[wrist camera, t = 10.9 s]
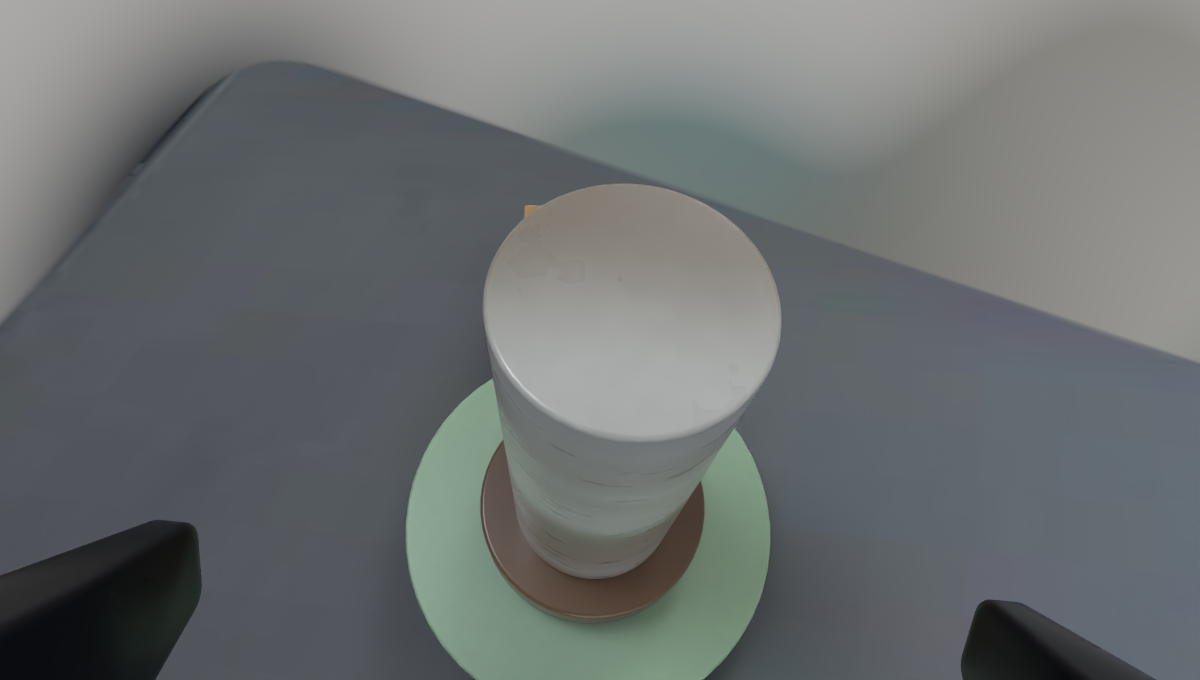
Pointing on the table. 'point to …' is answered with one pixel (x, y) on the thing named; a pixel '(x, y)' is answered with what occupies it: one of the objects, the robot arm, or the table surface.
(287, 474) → the table surface
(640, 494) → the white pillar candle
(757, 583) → the stand
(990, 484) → the table surface
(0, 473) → the table surface
